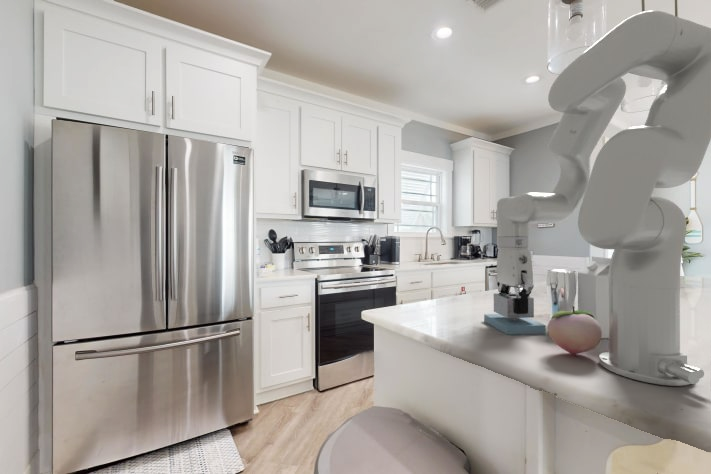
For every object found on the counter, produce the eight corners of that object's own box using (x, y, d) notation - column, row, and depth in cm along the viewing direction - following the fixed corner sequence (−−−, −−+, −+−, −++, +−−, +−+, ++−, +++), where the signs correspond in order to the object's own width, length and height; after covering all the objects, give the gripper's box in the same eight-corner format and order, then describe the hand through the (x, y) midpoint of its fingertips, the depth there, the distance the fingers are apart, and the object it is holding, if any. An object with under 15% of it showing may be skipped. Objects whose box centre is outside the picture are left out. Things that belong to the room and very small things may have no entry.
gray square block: (533, 317, 81) (533, 297, 81) (507, 318, 81) (507, 298, 81) (518, 310, 88) (517, 293, 88) (493, 311, 88) (493, 293, 88)
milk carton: (607, 330, 81) (606, 256, 81) (628, 339, 74) (628, 258, 74) (577, 329, 82) (577, 256, 81) (595, 338, 74) (595, 258, 74)
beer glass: (540, 325, 86) (540, 270, 86) (557, 321, 89) (556, 268, 89) (567, 332, 80) (566, 272, 80) (583, 328, 83) (583, 271, 83)
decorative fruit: (577, 366, 59) (576, 313, 59) (541, 351, 67) (539, 304, 67) (614, 360, 62) (613, 308, 62) (575, 346, 69) (574, 301, 69)
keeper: (545, 333, 79) (545, 301, 79) (507, 334, 78) (506, 302, 78) (517, 320, 91) (517, 292, 91) (484, 321, 90) (484, 293, 90)
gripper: (547, 244, 76) (548, 318, 76) (508, 242, 93) (508, 302, 93) (517, 244, 75) (518, 318, 75) (483, 243, 93) (484, 303, 93)
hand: (513, 309), depth 84 cm, fingers closed on gray square block, 7 cm apart
